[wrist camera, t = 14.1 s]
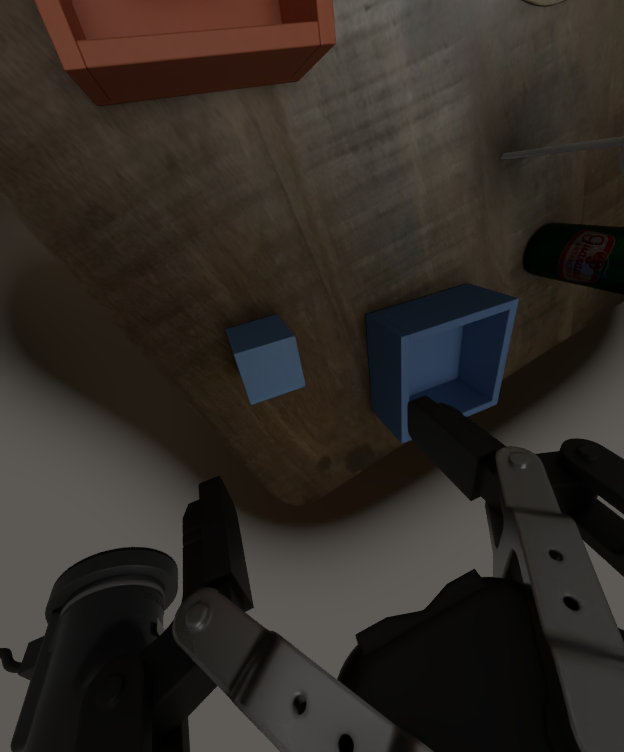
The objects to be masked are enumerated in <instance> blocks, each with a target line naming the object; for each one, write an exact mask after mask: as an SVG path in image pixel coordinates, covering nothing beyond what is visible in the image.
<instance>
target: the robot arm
mask: <svg viewBox="0 0 624 752" xmlns="http://www.w3.org/2000/svg"><path fill="white" fill-rule="evenodd" d="M407 426H408V433H409V435H410V437H411V439H412V440H413V442H414V443H415V444H416V445H417V446H418V447H419V448H420V449H421V450H422V451H423V452H424V453H425V454H426V455H427V456H428V457H429V458H430V459H431V460H432V461H433V462H434V463H435V464H436V466H437V467H438V468H439V469H440V470H441V471H442V472H443V473H444V474H445V475H446V476H447V477H448V478H449V479H450V480H451V481H452V482H453V483H454V484H455V485H456V486H457V487H458V488H459V489H460V490H461V491H462V493H464V495H465V496H466V497H467V498H468V499H469V500H470V501H472V500H474V499H476V498H478V497H480V496H481V497H482V498H483V499H484V500H485V501H486V503H485V508H486V514H487V520H488V526H489V532H490V538H491V544H492V550H493V577H481V576H480V575H479V574H478V573H477V571H476V570H475V569H473V570H471V571H470V572H468V573H466V574H464V575H462V576H461V577H459V578H457V579H455V580H453V581H452V582H450V583H448V584H447V585H446V586H445V587H444V588H443V589H442V590H441V591H440V593H439V594H438V595H437V596H436V597H435V598H434V600H433V601H432V602H431V603H430V604H429V605H428V606H427V607H426V608H425V609H424V610H422V611H418V612H413V613H408V614H402V615H396V616H391V617H387V618H385V619H383V620H381V621H379V622H377V623H376V624H374V625H372V626H370V627H368V628H367V629H365V630H363V631H361V632H359V633H358V634H356V639H357V643H358V645H357V646H356V647H355V648H354V649H353V651H352V652H351V653H350V655H349V656H348V657H347V659H346V661H345V662H344V665H343V666H342V668H341V670H340V673H339V676H338V678H337V679H336V678H334V677H333V676H332V675H331V674H329V673H328V672H327V671H325V670H324V669H323V668H322V667H320V666H319V665H318V664H316V663H315V662H314V661H313V660H311V659H310V658H309V657H307V656H306V655H305V654H304V653H302V652H301V651H300V650H299V649H297V648H296V647H295V646H293V645H292V644H291V643H290V642H288V641H287V640H285V639H284V638H283V637H282V636H280V635H279V634H277V633H276V632H274V631H269V630H267V629H266V628H264V627H263V626H262V625H260V624H259V623H258V622H257V621H255V620H254V619H253V618H251V617H250V616H249V615H248V614H247V613H245V612H246V611H248V610H250V609H252V608H254V607H253V601H252V595H251V590H250V584H249V578H248V573H247V567H246V562H245V556H244V550H243V545H242V539H241V534H240V528H239V522H238V517H237V513H236V510H235V506H234V503H233V501H232V499H231V497H230V495H229V493H228V491H227V489H226V487H225V485H224V483H223V481H222V479H221V477H220V476H218V477H215V478H212V479H210V480H207V481H205V482H202V483H200V484H199V500H197V501H194V502H192V503H190V504H188V507H187V509H186V512H185V514H184V517H183V546H184V547H183V598H182V603H181V605H180V607H179V609H178V611H177V613H176V615H175V618H174V620H173V621H172V623H171V624H170V625H169V627H168V628H167V629H166V630H164V628H163V615H164V605H165V588H164V585H163V584H162V583H161V582H160V581H159V580H157V579H155V578H153V577H150V576H146V575H139V574H126V575H118V576H112V577H108V578H104V579H101V580H98V581H95V582H93V583H91V584H88V585H86V586H84V587H83V588H81V589H79V590H78V591H76V592H75V593H74V594H72V595H71V596H70V597H69V598H68V599H67V600H66V602H65V603H64V605H63V606H61V607H59V608H57V609H55V610H53V611H52V613H51V617H50V620H49V623H48V626H47V630H46V633H45V636H43V637H41V638H39V639H36V640H34V641H32V642H30V643H28V646H27V650H26V652H25V655H24V658H23V661H22V663H21V662H17V661H15V660H14V659H13V657H12V653H11V650H10V649H7V648H0V658H1V660H2V664H3V667H4V669H5V670H6V671H8V672H12V673H18V675H20V676H22V677H24V678H26V679H28V680H31V681H30V684H29V687H28V690H27V694H26V697H25V700H24V703H23V706H22V709H21V713H20V716H19V719H18V722H17V725H16V729H15V732H14V735H13V738H12V741H11V751H12V752H190V743H189V727H188V716H189V715H190V714H191V713H192V712H193V711H194V710H195V709H196V708H197V706H198V705H199V704H200V703H201V702H202V701H203V700H204V699H205V698H206V697H207V696H208V695H209V694H210V693H211V692H212V691H213V690H214V689H215V688H216V687H217V686H219V688H220V689H221V690H223V692H224V693H225V694H226V695H227V696H228V697H229V698H230V699H231V700H232V702H233V703H234V704H235V705H236V706H237V707H238V708H239V709H240V711H241V712H243V714H244V715H245V716H246V717H247V718H248V719H249V720H250V721H251V722H252V723H253V724H254V725H255V726H256V727H257V728H258V729H259V730H260V731H261V732H262V733H263V734H264V735H265V736H266V737H267V738H268V739H269V741H270V742H271V743H272V744H273V745H274V746H275V747H276V748H277V749H278V750H279V751H280V752H624V630H622V629H620V628H618V627H617V624H616V622H615V620H614V617H613V615H612V612H611V610H610V607H609V605H608V602H607V600H606V597H605V595H604V592H603V590H602V587H601V585H600V582H599V580H598V577H597V575H596V572H595V570H594V567H593V565H592V563H591V560H590V557H589V555H588V552H587V550H586V548H585V545H584V543H583V540H584V541H585V542H586V543H587V544H588V545H589V546H590V547H591V548H592V549H594V550H595V551H596V552H597V553H598V554H599V555H600V556H601V557H602V558H603V559H605V560H606V561H607V562H608V563H609V564H610V565H611V566H612V567H613V568H615V569H616V570H617V571H618V572H619V573H620V574H621V575H622V576H623V577H624V519H622V518H621V517H620V516H618V515H617V514H616V513H615V512H613V511H612V510H611V509H609V508H608V507H607V506H606V505H604V504H603V503H602V502H600V501H599V500H598V499H597V496H598V495H599V496H600V497H602V498H603V499H604V500H605V501H607V502H608V503H609V504H611V505H612V506H613V507H615V508H616V509H617V510H619V511H620V512H621V513H623V514H624V459H622V458H621V457H619V456H618V455H616V454H615V453H613V452H611V451H610V450H608V449H606V448H605V447H603V446H601V445H600V444H598V443H595V442H593V441H589V440H585V439H569V440H566V441H564V442H563V444H562V445H561V448H560V451H557V452H548V453H540V454H534V453H532V452H531V451H529V450H526V449H524V448H520V447H512V446H509V447H507V446H505V445H504V444H502V443H501V442H500V441H498V440H497V439H496V438H494V437H493V436H492V435H490V434H489V433H488V432H486V431H485V430H484V429H482V428H481V427H480V426H478V425H477V424H476V423H473V422H472V420H470V419H469V418H468V417H466V416H464V414H462V413H461V412H460V411H458V410H457V409H456V408H455V407H452V406H450V405H447V404H445V403H442V402H440V403H438V404H437V403H436V402H435V401H434V400H432V399H431V398H430V397H428V396H426V395H424V396H422V397H419V398H417V399H414V400H411V401H409V402H408V404H407Z"/></svg>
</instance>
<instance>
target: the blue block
mask: <svg viewBox="0 0 624 752" xmlns="http://www.w3.org/2000/svg"><path fill="white" fill-rule="evenodd" d="M225 330H226V333H227V336H228V339H229V342H230V345H231V348H232V351H233V354H234V357H235V360H236V363H237V366H238V369H239V372H240V375H241V378H242V381H243V384H244V387H245V390H246V392H247V395H248V398H249V401H250V404H251V405H253V404H256V403H258V402H261V401H264V400H267V399H270V398H273V397H276V396H279V395H282V394H285V393H287V392H290V391H293V390H296V389H299V388H302V387H305V381H304V376H303V371H302V366H301V362H300V357H299V352H298V347H297V343H296V338H295V335H294V334H293V333H292V332H291V330H290V329H289V328H288V327H287V326H286V324H285V323H284V322H283V321H282V319H281V318H280V317H279V316H278V315H277V314H276V315H272V316H269V317H265V318H262V319H258V320H255V321H251V322H248V323H244V324H241V325H237V326H234V327H231V328H227V329H225Z"/></svg>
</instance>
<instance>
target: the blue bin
mask: <svg viewBox="0 0 624 752" xmlns="http://www.w3.org/2000/svg"><path fill="white" fill-rule="evenodd" d="M518 300H519V299H518V298H516V297H512V296H509V295H505V294H502V293H499V292H495V291H492V290H489V289H485V288H482V287H479V286H475V285H472V284H469V283H468V284H464V285H461V286H458V287H454V288H451V289H448V290H445V291H441V292H438V293H435V294H432V295H428V296H425V297H422V298H419V299H415V300H412V301H409V302H405V303H402V304H399V305H396V306H392V307H389V308H386V309H383V310H379V311H376V312H373V313H370V314H366V315H365V316H366V330H367V344H368V358H369V373H370V387H371V401H372V411H373V412H374V413H375V414H376V416H377V417H378V418H379V419H380V420H381V421H382V422H383V423H384V424H385V426H386V427H387V428H388V429H389V430H390V431H391V432H392V433H393V434H394V436H395V437H396V438H397V439H398V440H399V441H400V442H401V443H404V442H407V441H408V440H412V439H411V437H410V435H409V433H408V426H407V404H408V402H409V401H411V400H414V399H417V398H419V397H422V396H424V395H426V396H428V397H430V398H431V399H432V400H434V401H435V402H436V403H437V404H438V403H440V402H442V403H445V404H447V405H450V406H452V407H455V408H456V409H457V410H458V411H460V412H461V413H462V414H464V416H466V417H467V416H470V415H472V414H474V413H477V412H479V411H482V410H484V409H486V408H489V407H491V406H493V405H496V404H497V401H498V396H499V391H500V386H501V382H502V377H503V372H504V367H505V363H506V358H507V353H508V348H509V343H510V339H511V334H512V329H513V324H514V319H515V315H516V310H517V305H518Z"/></svg>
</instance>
